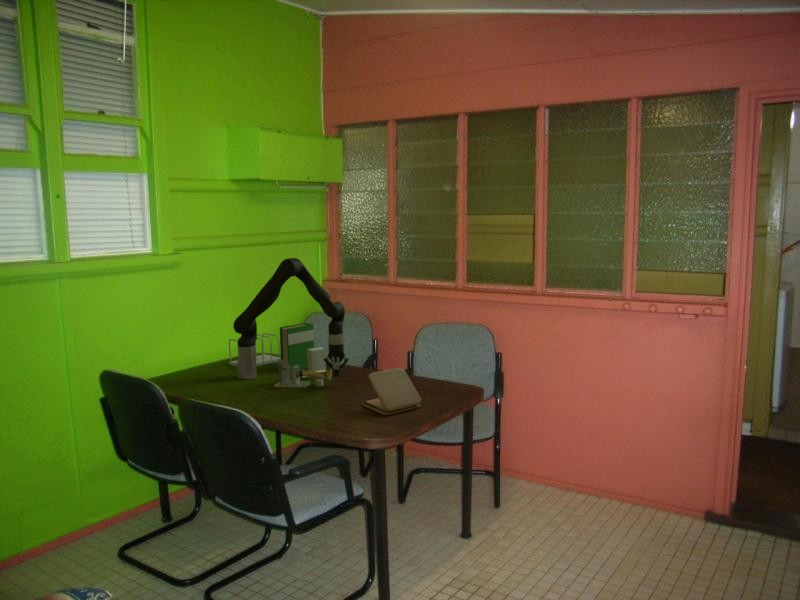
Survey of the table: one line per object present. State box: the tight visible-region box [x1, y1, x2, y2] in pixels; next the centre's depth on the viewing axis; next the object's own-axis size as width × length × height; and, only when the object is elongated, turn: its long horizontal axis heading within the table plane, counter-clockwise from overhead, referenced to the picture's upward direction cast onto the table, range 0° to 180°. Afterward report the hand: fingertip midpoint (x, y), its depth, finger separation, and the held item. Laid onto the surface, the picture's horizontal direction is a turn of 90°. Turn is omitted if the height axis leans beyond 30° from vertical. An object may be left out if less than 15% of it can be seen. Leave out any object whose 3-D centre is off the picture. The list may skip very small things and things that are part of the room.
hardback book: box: [279, 322, 315, 373], centre depth 363 cm, size 18×7×24 cm, turn 136°
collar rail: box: [273, 359, 324, 389], centre depth 328 cm, size 24×10×12 cm, turn 83°
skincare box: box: [307, 346, 327, 378], centre depth 346 cm, size 8×6×15 cm
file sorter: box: [228, 332, 281, 368], centre depth 377 cm, size 25×17×16 cm
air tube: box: [296, 368, 333, 381], centre depth 327 cm, size 19×6×6 cm, turn 83°
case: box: [362, 367, 422, 416], centre depth 290 cm, size 20×21×16 cm
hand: (336, 376), depth 325 cm, fingers closed
